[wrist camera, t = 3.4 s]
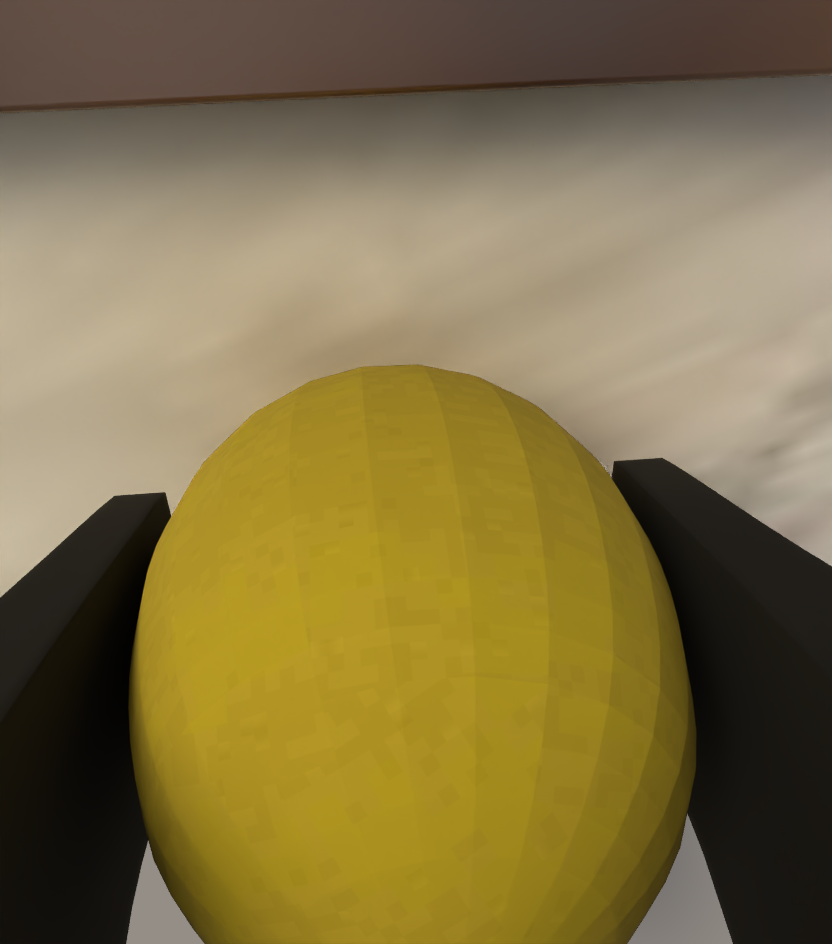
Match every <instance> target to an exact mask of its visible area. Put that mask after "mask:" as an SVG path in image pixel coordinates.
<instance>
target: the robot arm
mask: <svg viewBox="0 0 832 944" xmlns="http://www.w3.org/2000/svg"><path fill="white" fill-rule="evenodd" d="M612 480H613V481H614V483H615V485H616V486H617V488H618V489H619V491H620V492H621V494H622V496H623V497H624V499H625V501H626V502H627V504H628V506H629V507H630V509H631V511H632V512H633V514H634V516H635V517H636V519H637V520H638V522H639V524H640V525H641V527H642V529H643V530H644V532H645V534H646V535H647V537H648V539H649V541H650V543H651V545H652V547H653V549H654V551H655V553H656V555H657V557H658V559H659V561H660V563H661V566H662V569H663V572H664V574H665V577H666V580H667V583H668V585H669V588H670V591H671V595H672V599H673V602H674V606H675V610H676V614H677V617H678V622H679V627H680V632H681V637H682V643H683V648H684V653H685V659H686V664H687V670H688V675H689V681H690V686H691V692H692V697H693V705H694V714H695V724H696V772H695V777H694V782H693V787H692V792H691V797H690V802H689V807H688V812H687V813H688V816H689V818H690V821H691V823H692V826H693V828H694V831H695V833H696V836H697V838H698V841H699V844H700V846H701V849H702V851H703V854H704V857H705V860H706V863H707V865H708V869H709V872H710V875H711V878H712V881H713V884H714V887H715V890H716V893H717V896H718V899H719V902H720V905H721V908H722V911H723V914H724V918H725V921H726V924H727V927H728V930H729V933H730V936H731V939H732V942H733V944H832V566H830V565H828V564H827V563H825V562H824V561H822V560H820V559H819V558H817V557H815V556H814V555H812V554H810V553H809V552H807V551H806V550H804V549H802V548H801V547H799V546H798V545H796V544H794V543H793V542H791V541H790V540H788V539H787V538H785V537H783V536H782V535H780V534H779V533H777V532H776V531H774V530H773V529H771V528H769V527H768V526H766V525H765V524H763V523H762V522H760V521H759V520H757V519H756V518H754V517H753V516H751V515H750V514H748V513H747V512H745V511H744V510H742V509H741V508H739V507H738V506H736V505H735V504H733V503H732V502H730V501H729V500H727V499H726V498H724V497H723V496H721V495H720V494H718V493H717V492H715V491H714V490H712V489H711V488H709V487H708V486H706V485H705V484H703V483H702V482H700V481H699V480H697V479H696V478H694V477H693V476H691V475H690V474H688V473H686V472H685V471H683V470H682V469H680V468H679V467H677V466H675V465H674V464H672V463H670V462H668V461H667V460H665V459H663V458H655V459H641V460H626V461H614V465H613V474H612ZM170 518H171V513H170V509H169V505H168V501H167V497H166V493H165V492H164V493H149V494H135V495H121V496H114V497H113V498H112V499H110V500H109V501H108V502H107V503H105V504H104V505H103V506H102V507H101V508H99V509H98V510H97V511H96V512H95V513H94V514H93V515H91V516H90V517H89V518H88V519H87V520H86V521H85V522H84V523H83V524H81V525H80V526H79V527H78V528H77V529H76V530H75V531H74V532H73V533H72V534H71V535H69V536H68V537H67V538H66V539H65V540H64V541H63V542H62V543H61V544H60V545H58V546H57V547H56V548H55V549H54V550H53V551H52V552H51V553H50V554H49V555H48V556H46V557H45V558H44V559H43V560H42V561H41V562H40V563H39V564H37V565H36V566H35V567H34V568H33V569H32V570H31V571H30V572H29V573H27V574H26V575H25V576H24V577H23V578H22V579H21V580H20V581H18V582H17V583H16V584H15V585H14V586H13V587H12V588H11V589H9V590H8V591H7V592H6V593H5V594H4V595H3V596H2V597H0V944H126V941H127V934H128V928H129V923H130V916H131V911H132V905H133V900H134V896H135V891H136V887H137V883H138V878H139V873H140V869H141V865H142V861H143V857H144V854H145V850H146V846H147V842H148V837H147V833H146V829H145V826H144V821H143V816H142V811H141V806H140V801H139V796H138V791H137V786H136V781H135V774H134V767H133V760H132V752H131V745H130V730H129V710H128V706H129V675H130V666H131V657H132V648H133V643H134V637H135V632H136V627H137V621H138V616H139V611H140V605H141V600H142V595H143V590H144V585H145V581H146V576H147V572H148V568H149V565H150V562H151V559H152V556H153V553H154V551H155V548H156V545H157V543H158V541H159V539H160V537H161V535H162V533H163V531H164V529H165V527H166V525H167V523H168V522H169V520H170Z"/></svg>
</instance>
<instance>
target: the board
mask: <svg viewBox="0 0 832 944" xmlns="http://www.w3.org/2000/svg"><path fill="white" fill-rule="evenodd" d="M813 75H832V0H0V113H20V112H41V111H63V110H84V109H105V108H127V107H148V106H170V105H191V104H213V103H234V102H256V101H277V100H298V99H320V98H341V97H363V96H384V95H406V94H427V93H449V92H470V91H491V90H513V89H534V88H556V87H577V86H599V85H620V84H642V83H663V82H684V81H706V80H727V79H749V78H770V77H792V76H813Z"/></svg>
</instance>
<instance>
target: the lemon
mask: <svg viewBox="0 0 832 944" xmlns="http://www.w3.org/2000/svg"><path fill="white" fill-rule="evenodd" d="M128 710H129V730H130V745H131V752H132V760H133V767H134V774H135V781H136V786H137V791H138V796H139V801H140V806H141V811H142V816H143V821H144V826H145V829H146V833H147V837H148V840H149V844H150V847H151V851H152V855H153V858H154V861H155V863H156V865H157V868H158V869H159V871H160V874H161V876H162V878H163V880H164V882H165V884H166V886H167V888H168V890H169V892H170V894H171V896H172V897H173V899H174V901H175V902H176V904H177V905H178V907H179V908H180V910H181V911H182V913H183V914H184V916H185V917H186V919H187V920H188V922H189V923H190V925H191V926H192V928H193V929H194V931H195V932H196V933H197V934H198V936H199V937H200V938H201V940H202V941H203V942H204V943H205V944H627V943H628V942H629V940H630V939H631V937H632V935H633V934H634V932H635V931H636V929H637V928H638V926H639V925H640V923H641V922H642V920H643V918H644V917H645V915H646V914H647V912H648V910H649V909H650V907H651V905H652V904H653V902H654V900H655V899H656V897H657V895H658V894H659V892H660V890H661V888H662V887H663V885H664V884H665V882H666V880H667V877H668V875H669V873H670V870H671V868H672V866H673V863H674V861H675V858H676V856H677V854H678V851H679V849H680V846H681V841H682V836H683V831H684V826H685V821H686V816H687V812H688V807H689V802H690V797H691V792H692V787H693V782H694V777H695V772H696V724H695V714H694V705H693V697H692V692H691V686H690V681H689V675H688V670H687V664H686V659H685V653H684V648H683V643H682V637H681V632H680V627H679V622H678V617H677V614H676V610H675V606H674V602H673V599H672V595H671V591H670V588H669V585H668V583H667V580H666V577H665V574H664V572H663V569H662V566H661V563H660V561H659V559H658V557H657V555H656V553H655V551H654V549H653V547H652V545H651V543H650V541H649V539H648V537H647V535H646V534H645V532H644V530H643V529H642V527H641V525H640V524H639V522H638V520H637V519H636V517H635V516H634V514H633V512H632V511H631V509H630V507H629V506H628V504H627V502H626V501H625V499H624V497H623V496H622V494H621V492H620V491H619V489H618V488H617V486H616V485H615V483H614V481H613V480H612V478H611V477H610V475H609V474H608V472H607V471H606V470H605V469H604V468H603V466H602V465H601V464H600V463H599V461H598V460H597V459H596V458H595V457H594V456H593V455H592V454H591V453H590V452H589V451H588V450H587V449H586V448H584V447H583V446H582V445H581V444H580V443H579V442H578V441H577V440H576V439H574V438H573V437H572V436H571V435H570V434H569V433H568V432H566V431H565V430H564V429H563V428H562V427H561V426H560V425H558V424H557V423H556V422H555V421H554V420H553V419H552V418H550V417H549V416H548V415H547V414H546V413H545V412H544V411H542V410H541V409H540V408H538V407H537V406H535V405H534V404H532V403H530V402H529V401H527V400H525V399H523V398H521V397H519V396H517V395H515V394H513V393H511V392H508V391H506V390H504V389H502V388H500V387H498V386H496V385H494V384H492V383H490V382H488V381H486V380H484V379H481V378H479V377H476V376H472V375H469V374H463V373H458V372H453V371H448V370H443V369H438V368H432V367H427V366H422V365H395V366H371V367H360V368H357V369H353V370H349V371H346V372H342V373H339V374H335V375H331V376H328V377H324V378H320V379H317V380H313V381H310V382H308V383H306V384H305V385H303V386H301V387H299V388H297V389H296V390H294V391H292V392H290V393H289V394H287V395H285V396H283V397H281V398H280V399H278V400H276V401H274V402H273V403H271V404H269V405H267V406H265V407H264V408H262V409H260V410H258V411H257V412H255V413H254V414H252V415H251V416H250V417H249V418H248V419H247V420H246V421H245V422H244V423H243V424H242V425H241V426H240V427H239V428H238V429H237V430H236V431H235V432H234V433H233V434H232V435H231V436H230V437H229V438H228V439H227V440H226V441H225V442H224V443H223V444H222V445H221V446H219V447H218V448H217V449H216V450H215V451H214V452H213V454H212V455H211V456H210V457H209V458H208V459H207V460H206V461H205V462H204V463H203V464H202V466H201V467H200V469H199V470H198V472H197V473H196V475H195V476H194V478H193V480H192V481H191V483H190V485H189V487H188V488H187V490H186V492H185V494H184V495H183V497H182V499H181V501H180V502H179V504H178V506H177V508H176V509H175V511H174V513H173V515H172V516H171V518H170V520H169V522H168V523H167V525H166V527H165V529H164V531H163V533H162V535H161V537H160V539H159V541H158V543H157V545H156V548H155V551H154V553H153V556H152V559H151V562H150V565H149V568H148V572H147V576H146V581H145V585H144V590H143V595H142V600H141V605H140V611H139V616H138V621H137V627H136V632H135V637H134V643H133V648H132V657H131V666H130V675H129V706H128Z"/></svg>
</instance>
